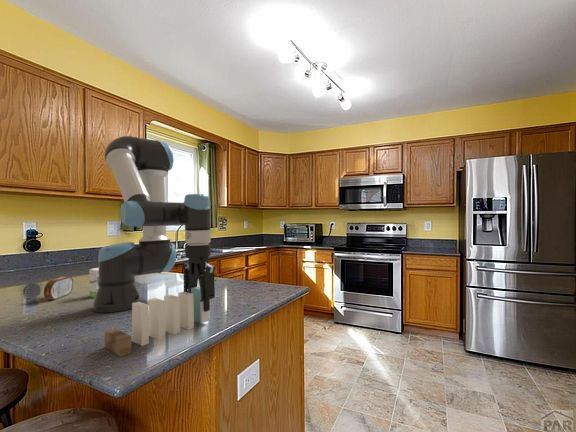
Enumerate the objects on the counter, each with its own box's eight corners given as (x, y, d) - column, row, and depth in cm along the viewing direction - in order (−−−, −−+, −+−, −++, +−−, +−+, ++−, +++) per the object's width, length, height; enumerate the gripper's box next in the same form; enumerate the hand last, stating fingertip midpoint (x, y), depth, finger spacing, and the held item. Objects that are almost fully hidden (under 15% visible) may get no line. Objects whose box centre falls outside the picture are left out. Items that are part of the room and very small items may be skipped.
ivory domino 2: (158, 340, 79) (158, 302, 79) (149, 335, 82) (148, 299, 82) (165, 337, 81) (164, 300, 81) (155, 333, 84) (155, 298, 84)
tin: (67, 293, 134) (67, 274, 134) (74, 292, 134) (74, 274, 134) (42, 302, 119) (42, 281, 119) (51, 302, 119) (51, 281, 119)
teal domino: (201, 323, 90) (200, 289, 90) (191, 320, 93) (191, 287, 93) (206, 321, 91) (205, 288, 91) (196, 318, 94) (195, 286, 94)
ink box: (95, 298, 124) (94, 269, 124) (89, 296, 126) (88, 269, 127) (115, 293, 131) (115, 266, 131) (109, 292, 134) (109, 266, 134)
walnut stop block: (104, 347, 75) (104, 331, 75) (114, 343, 77) (114, 328, 77) (120, 356, 70) (120, 339, 70) (131, 352, 72) (131, 336, 72)
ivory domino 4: (188, 329, 86) (188, 295, 86) (178, 326, 89) (178, 292, 89) (193, 327, 88) (193, 293, 88) (183, 324, 91) (183, 291, 91)
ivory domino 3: (174, 334, 83) (173, 298, 83) (164, 330, 86) (164, 295, 86) (180, 332, 84) (179, 297, 84) (170, 328, 87) (169, 294, 87)
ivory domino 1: (141, 345, 76) (141, 306, 76) (132, 341, 79) (132, 303, 79) (148, 343, 77) (148, 304, 77) (139, 339, 80) (138, 301, 80)
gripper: (170, 244, 95) (171, 317, 94) (206, 246, 84) (207, 329, 83) (191, 242, 101) (192, 311, 100) (226, 244, 90) (228, 322, 89)
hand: (199, 319), depth 92 cm, fingers closed on teal domino, 5 cm apart
